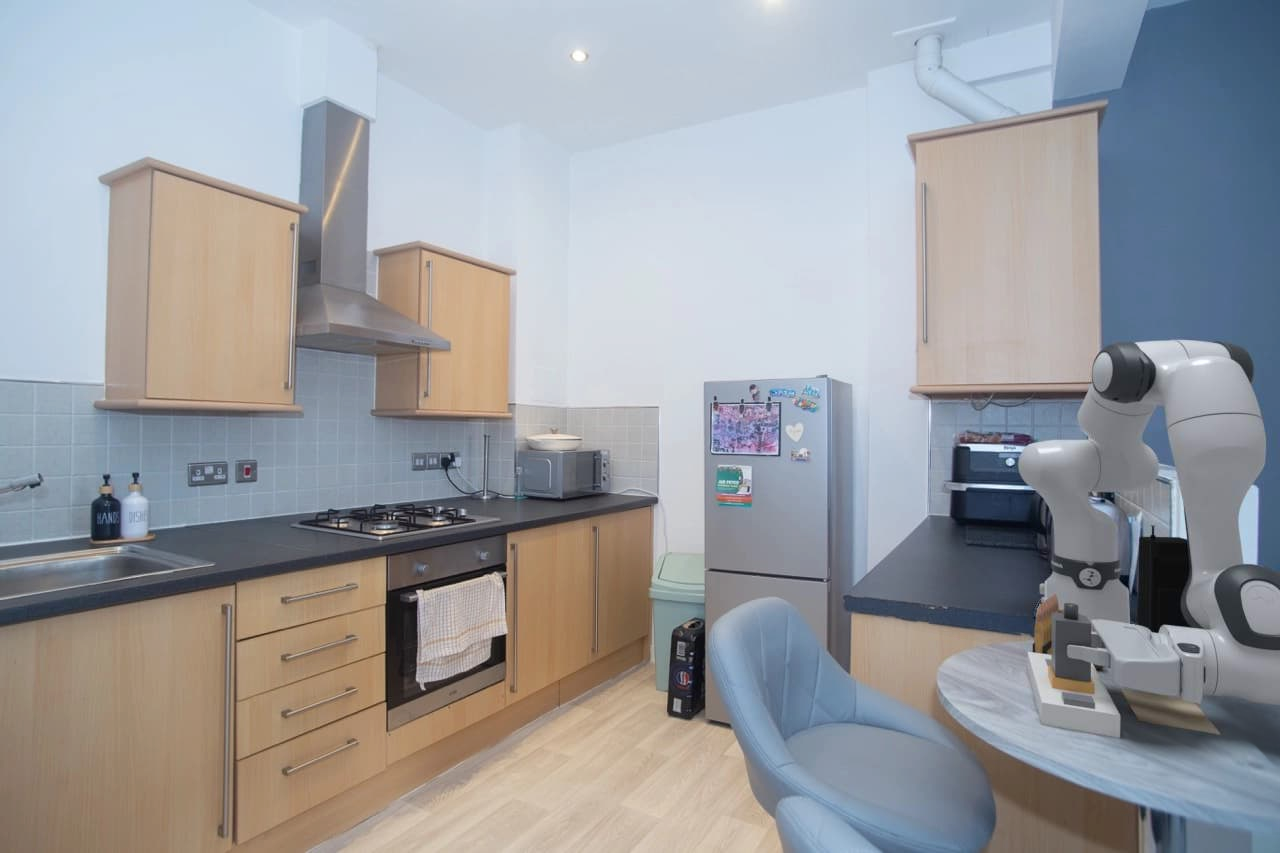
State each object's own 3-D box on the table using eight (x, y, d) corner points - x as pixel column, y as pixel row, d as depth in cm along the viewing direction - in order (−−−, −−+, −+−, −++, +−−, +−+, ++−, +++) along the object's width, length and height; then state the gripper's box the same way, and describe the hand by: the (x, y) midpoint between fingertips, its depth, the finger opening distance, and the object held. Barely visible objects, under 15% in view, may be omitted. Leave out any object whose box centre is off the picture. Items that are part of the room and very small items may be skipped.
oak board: (1120, 695, 104) (1120, 689, 104) (1192, 706, 100) (1192, 699, 100) (1139, 727, 93) (1139, 720, 93) (1221, 741, 89) (1221, 734, 89)
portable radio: (1178, 661, 118) (1180, 522, 118) (1204, 674, 112) (1206, 528, 112) (1132, 659, 119) (1133, 521, 119) (1154, 672, 113) (1156, 527, 113)
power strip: (1027, 674, 112) (1027, 646, 112) (1090, 684, 108) (1090, 655, 108) (1041, 730, 92) (1042, 696, 92) (1119, 744, 88) (1120, 709, 88)
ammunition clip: (1044, 676, 111) (1044, 606, 111) (1031, 673, 113) (1032, 603, 113) (1061, 660, 119) (1062, 594, 119) (1049, 657, 120) (1050, 592, 120)
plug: (1047, 694, 102) (1048, 598, 102) (1087, 700, 100) (1088, 602, 99) (1052, 708, 97) (1052, 606, 97) (1094, 715, 95) (1095, 611, 95)
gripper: (1160, 615, 102) (1055, 604, 108) (1204, 660, 83) (1074, 643, 89) (1159, 656, 102) (1054, 642, 108) (1203, 709, 84) (1074, 689, 90)
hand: (1063, 643), depth 99 cm, fingers closed on plug, 4 cm apart
